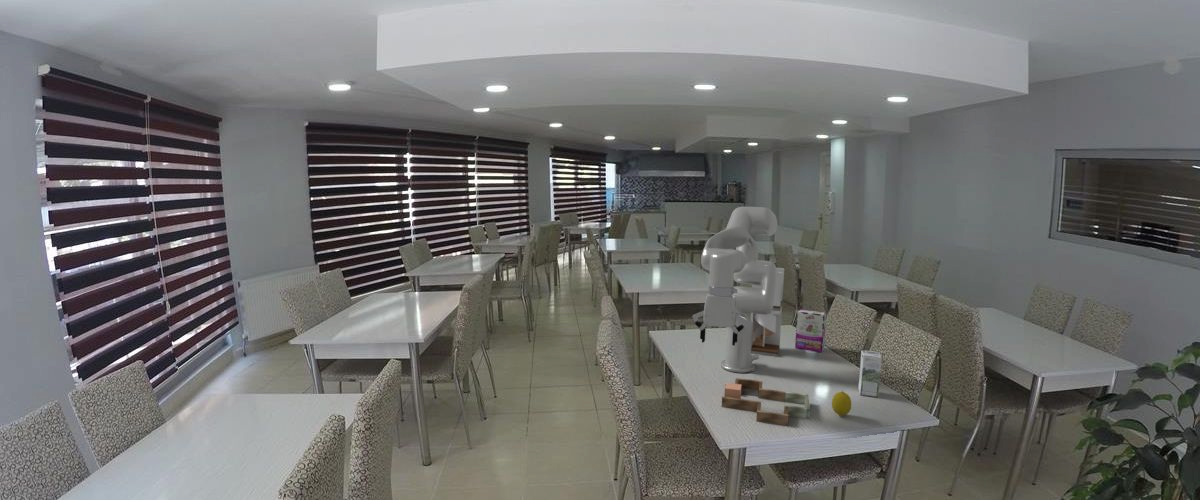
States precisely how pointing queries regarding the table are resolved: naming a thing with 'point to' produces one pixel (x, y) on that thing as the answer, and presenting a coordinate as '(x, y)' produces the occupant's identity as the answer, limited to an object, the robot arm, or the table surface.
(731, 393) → the block
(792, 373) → the table surface
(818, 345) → the candy bar box
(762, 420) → the wooden zigzag frame
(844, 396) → the lemon
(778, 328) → the display case
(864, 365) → the syrup box
